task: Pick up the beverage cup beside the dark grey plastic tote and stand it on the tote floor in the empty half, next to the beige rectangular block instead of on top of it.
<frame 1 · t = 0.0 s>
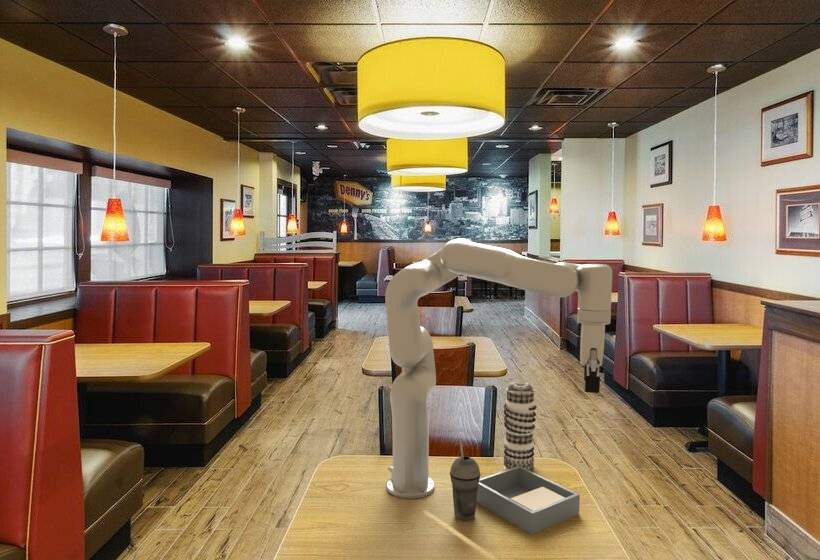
hand: (591, 386, 145), 31 cm above the table, tool pointing down, fingers open, 9 cm apart
tote: (524, 510, 148), on the table
beige rectangular block: (538, 514, 144), point 1 cm above the table, touching tote
decorative candle: (518, 470, 172), on the table
beverage cup: (464, 521, 143), on the table
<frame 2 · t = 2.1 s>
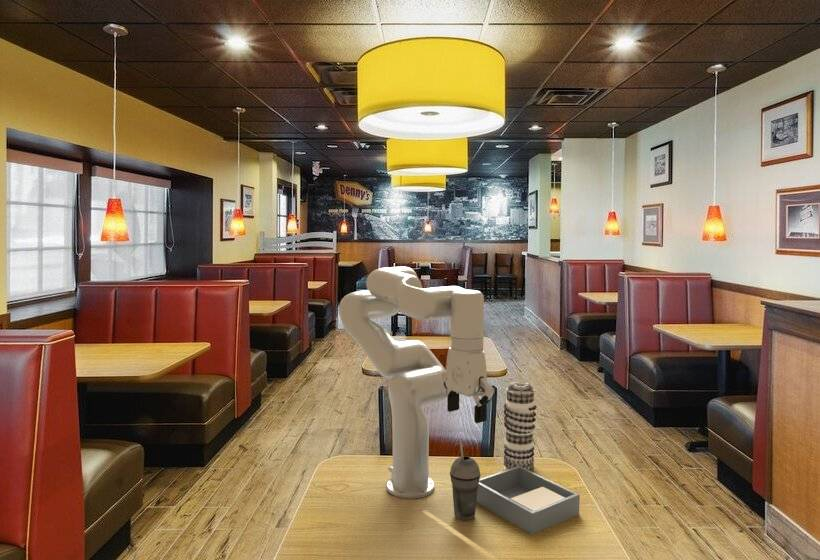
hand: (466, 416, 140), 26 cm above the table, tool pointing down, fingers open, 9 cm apart
nothing on the table moved.
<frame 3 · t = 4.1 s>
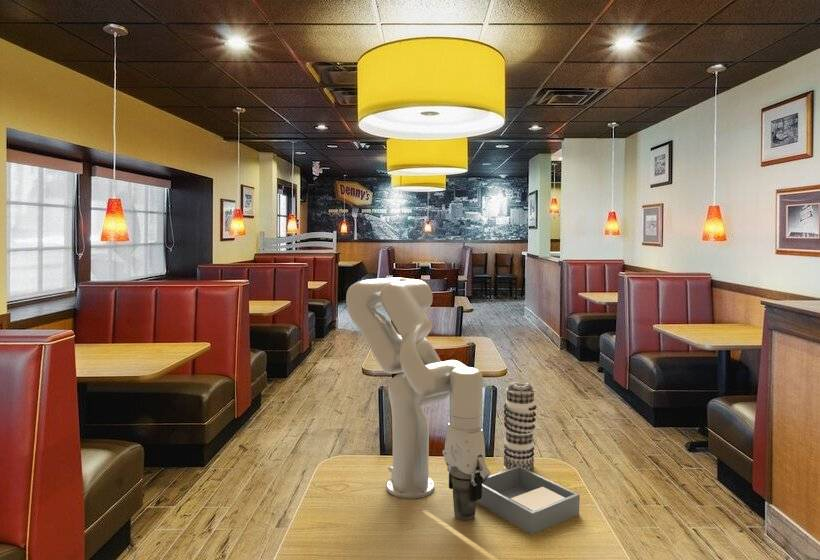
hand: (465, 493, 142), 7 cm above the table, tool pointing down, fingers closed on beverage cup, 7 cm apart
beverage cup: (464, 521, 143), on the table, touching gripper
everything else where it was.
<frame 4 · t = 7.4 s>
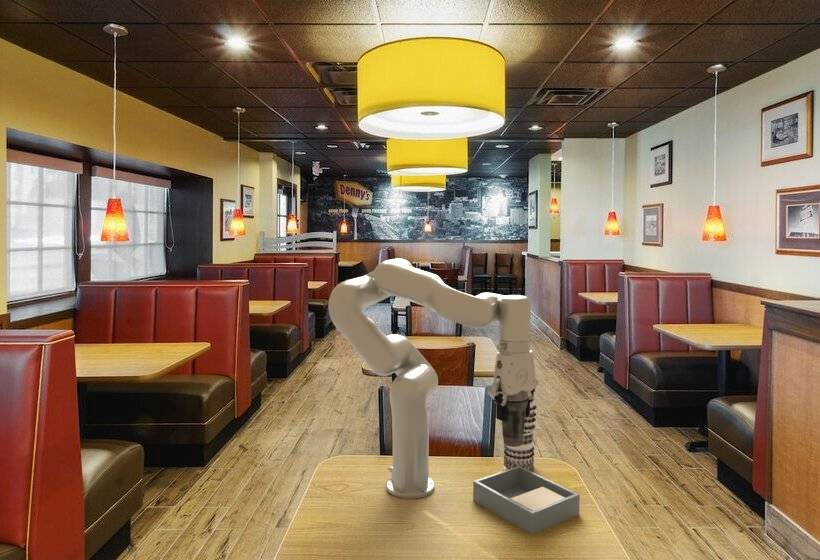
hand: (513, 416, 148), 23 cm above the table, tool pointing down, fingers closed on beverage cup, 7 cm apart
beverage cup: (512, 444, 149), point 16 cm above the table, touching gripper
everything else where it was.
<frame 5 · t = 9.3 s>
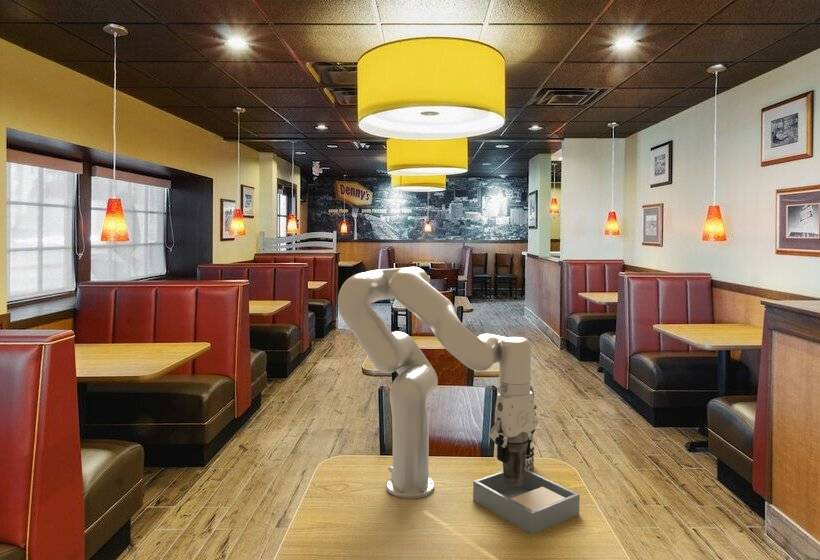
hand: (513, 456, 150), 12 cm above the table, tool pointing down, fingers closed on beverage cup, 7 cm apart
beverage cup: (513, 483, 151), point 5 cm above the table, touching gripper
everything else where it was.
when the fingers open (9 cm above the table, at t = 10.6 s): beverage cup drops 1 cm, resting on tote.
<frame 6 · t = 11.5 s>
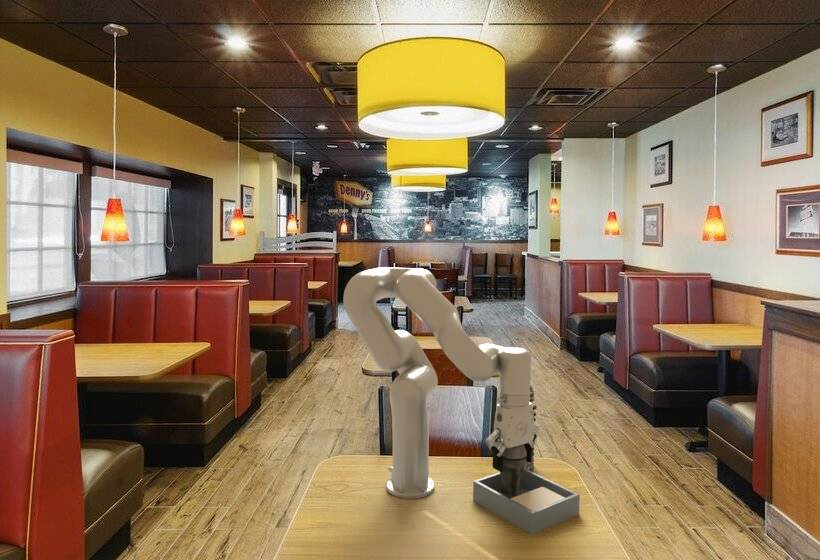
hand: (512, 465, 150), 10 cm above the table, tool pointing down, fingers open, 9 cm apart
beverage cup: (510, 500, 151), point 1 cm above the table, touching tote
everything else where it was.
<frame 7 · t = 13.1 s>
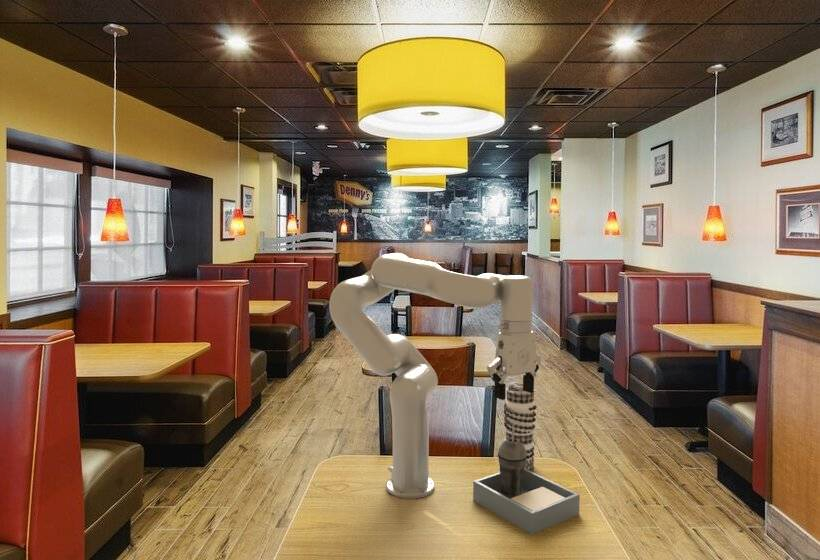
hand: (514, 395, 148), 28 cm above the table, tool pointing down, fingers open, 9 cm apart
nothing on the table moved.
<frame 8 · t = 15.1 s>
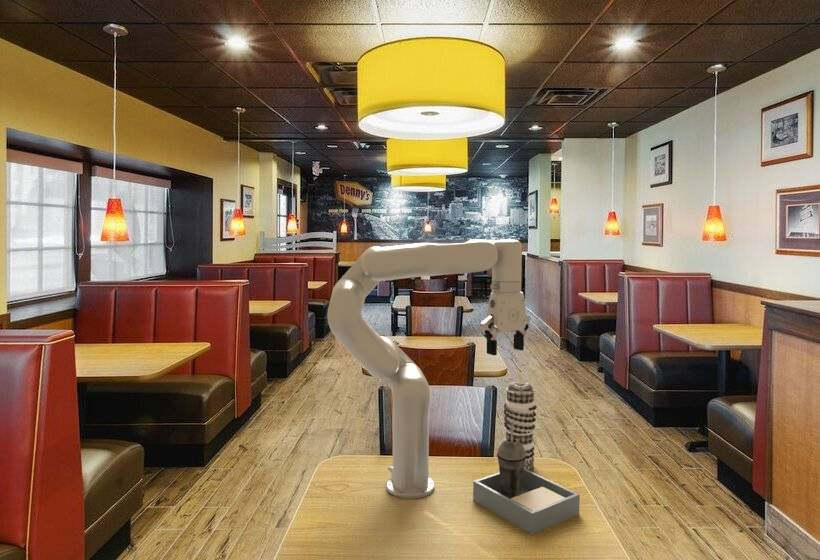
hand: (505, 351, 158), 36 cm above the table, tool pointing down, fingers open, 9 cm apart
nothing on the table moved.
at the end: beverage cup inside the target area on the tote (0.2 cm from its centre), point 0.8 cm above the tote's base; beverage cup tilted 1°; beige rectangular block moved 0.0 cm from its start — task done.
